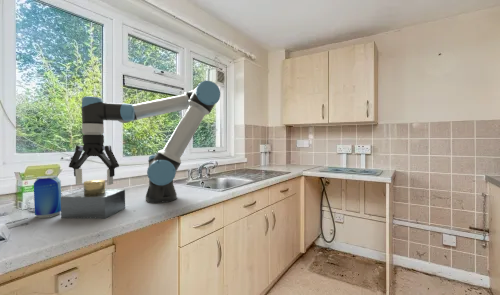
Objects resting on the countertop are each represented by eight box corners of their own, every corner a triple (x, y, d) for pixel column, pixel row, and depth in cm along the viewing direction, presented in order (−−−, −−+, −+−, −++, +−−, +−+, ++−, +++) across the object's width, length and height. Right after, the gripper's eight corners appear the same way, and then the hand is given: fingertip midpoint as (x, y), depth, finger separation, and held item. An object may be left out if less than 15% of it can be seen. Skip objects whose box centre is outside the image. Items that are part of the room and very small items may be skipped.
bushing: (109, 208, 105) (109, 179, 104) (97, 214, 97) (97, 183, 97) (93, 208, 105) (92, 179, 104) (80, 214, 97) (79, 182, 97)
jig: (125, 208, 108) (124, 189, 107) (105, 218, 94) (104, 197, 93) (86, 207, 108) (86, 189, 108) (61, 217, 94) (60, 196, 94)
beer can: (31, 219, 92) (29, 179, 92) (39, 213, 100) (38, 175, 99) (57, 217, 96) (56, 177, 95) (64, 211, 103) (63, 174, 103)
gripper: (127, 134, 103) (128, 182, 104) (71, 134, 104) (73, 182, 105) (116, 134, 95) (117, 186, 96) (57, 134, 96) (58, 185, 97)
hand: (94, 184), depth 101 cm, fingers open, 13 cm apart
